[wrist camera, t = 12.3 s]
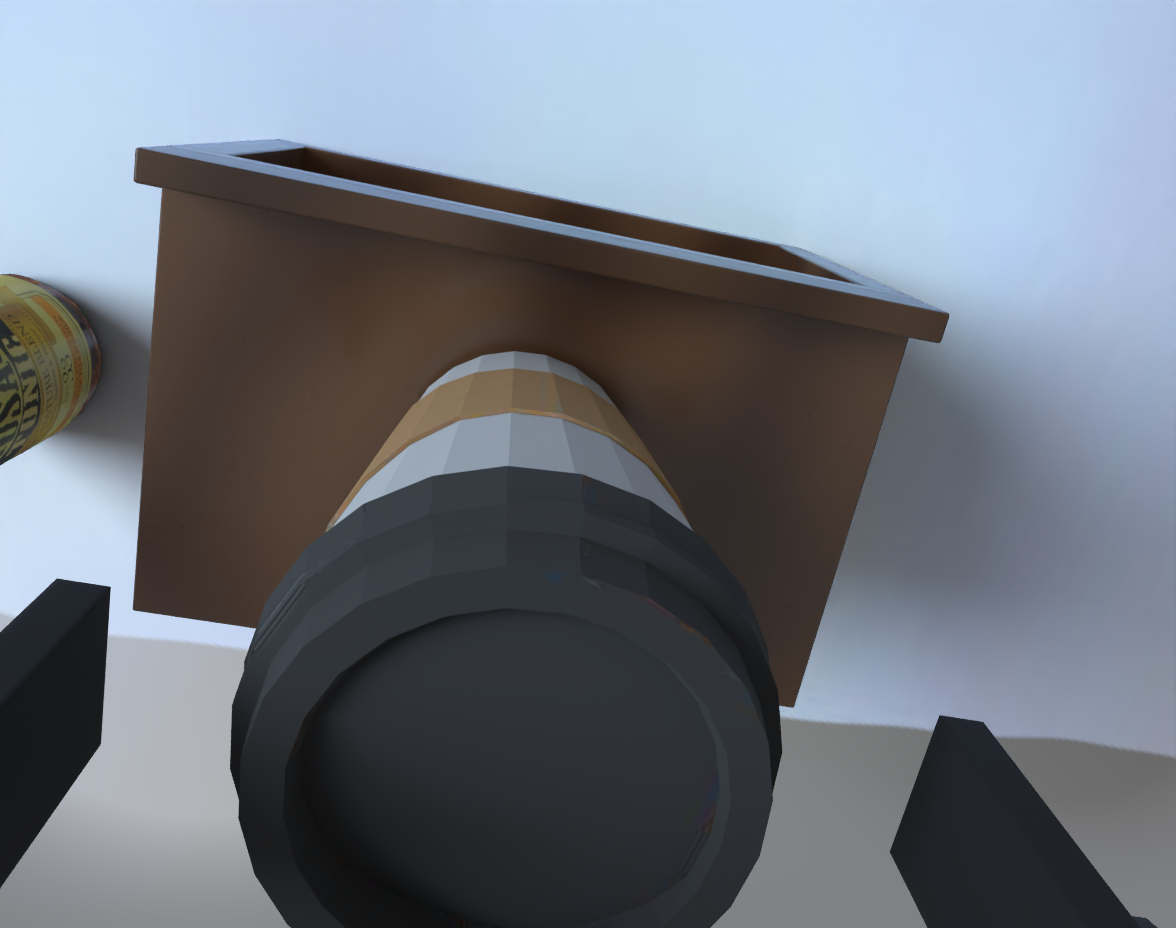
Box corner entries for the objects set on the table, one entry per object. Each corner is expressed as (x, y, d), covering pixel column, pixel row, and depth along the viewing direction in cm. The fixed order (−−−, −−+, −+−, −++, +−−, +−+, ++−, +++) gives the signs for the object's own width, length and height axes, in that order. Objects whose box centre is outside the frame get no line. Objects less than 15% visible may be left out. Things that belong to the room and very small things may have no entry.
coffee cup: (569, 638, 30) (614, 1111, 15) (313, 512, 28) (96, 915, 14) (720, 404, 27) (931, 701, 13) (454, 251, 26) (371, 406, 12)
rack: (802, 248, 38) (951, 313, 25) (720, 551, 42) (811, 746, 29) (276, 138, 36) (134, 146, 23) (242, 472, 40) (104, 645, 26)
